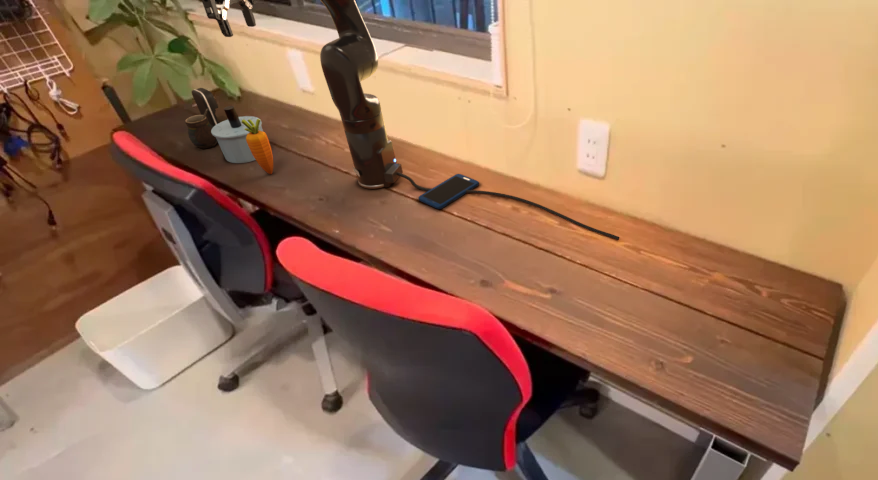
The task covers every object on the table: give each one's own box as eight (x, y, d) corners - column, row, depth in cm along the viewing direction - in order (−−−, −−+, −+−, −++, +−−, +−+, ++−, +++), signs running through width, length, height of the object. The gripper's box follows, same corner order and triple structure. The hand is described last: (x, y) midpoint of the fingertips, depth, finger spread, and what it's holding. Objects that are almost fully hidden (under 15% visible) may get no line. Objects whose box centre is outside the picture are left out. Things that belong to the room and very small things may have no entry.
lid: (272, 121, 141) (264, 99, 137) (242, 142, 132) (233, 119, 128) (233, 118, 144) (225, 96, 140) (202, 138, 135) (191, 116, 131)
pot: (278, 145, 146) (269, 120, 141) (252, 165, 137) (241, 139, 132) (243, 141, 148) (233, 117, 144) (216, 161, 140) (204, 135, 135)
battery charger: (228, 127, 156) (212, 90, 149) (216, 132, 154) (199, 94, 147) (218, 121, 160) (201, 85, 152) (206, 126, 158) (189, 89, 150)
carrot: (284, 169, 135) (263, 114, 125) (275, 179, 131) (253, 122, 121) (266, 169, 135) (244, 114, 125) (257, 178, 132) (233, 122, 122)
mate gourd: (191, 145, 148) (174, 111, 142) (218, 136, 152) (203, 103, 145) (198, 153, 144) (181, 119, 137) (225, 144, 147) (210, 110, 141)
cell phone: (480, 184, 124) (480, 181, 124) (439, 210, 116) (438, 207, 116) (458, 175, 128) (458, 172, 127) (417, 200, 120) (416, 197, 120)
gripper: (203, -41, 109) (234, 41, 120) (247, -53, 119) (271, 23, 130) (175, -41, 111) (207, 39, 122) (220, -53, 121) (246, 22, 132)
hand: (240, 31), depth 126 cm, fingers open, 8 cm apart
